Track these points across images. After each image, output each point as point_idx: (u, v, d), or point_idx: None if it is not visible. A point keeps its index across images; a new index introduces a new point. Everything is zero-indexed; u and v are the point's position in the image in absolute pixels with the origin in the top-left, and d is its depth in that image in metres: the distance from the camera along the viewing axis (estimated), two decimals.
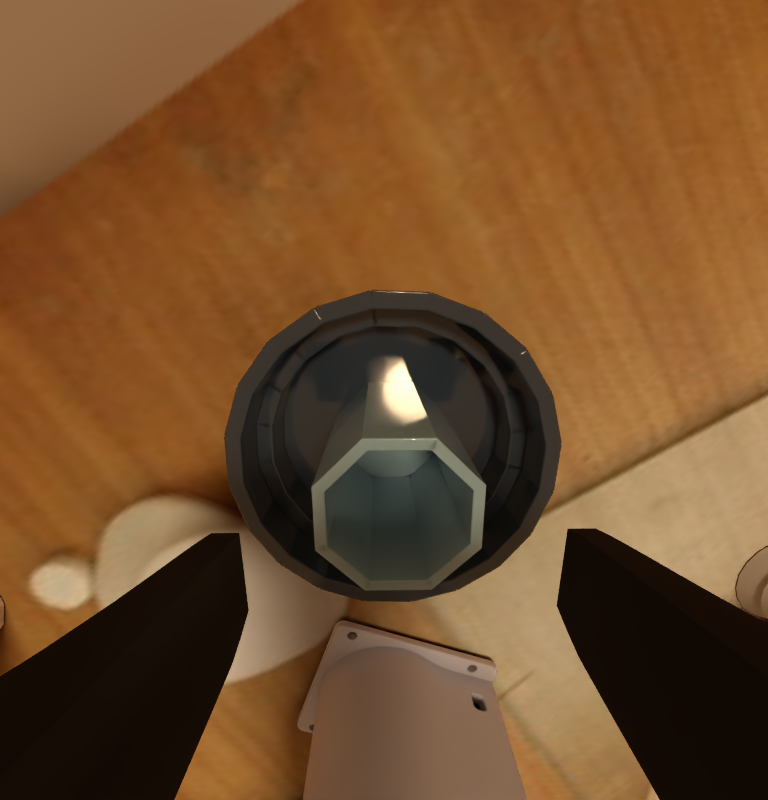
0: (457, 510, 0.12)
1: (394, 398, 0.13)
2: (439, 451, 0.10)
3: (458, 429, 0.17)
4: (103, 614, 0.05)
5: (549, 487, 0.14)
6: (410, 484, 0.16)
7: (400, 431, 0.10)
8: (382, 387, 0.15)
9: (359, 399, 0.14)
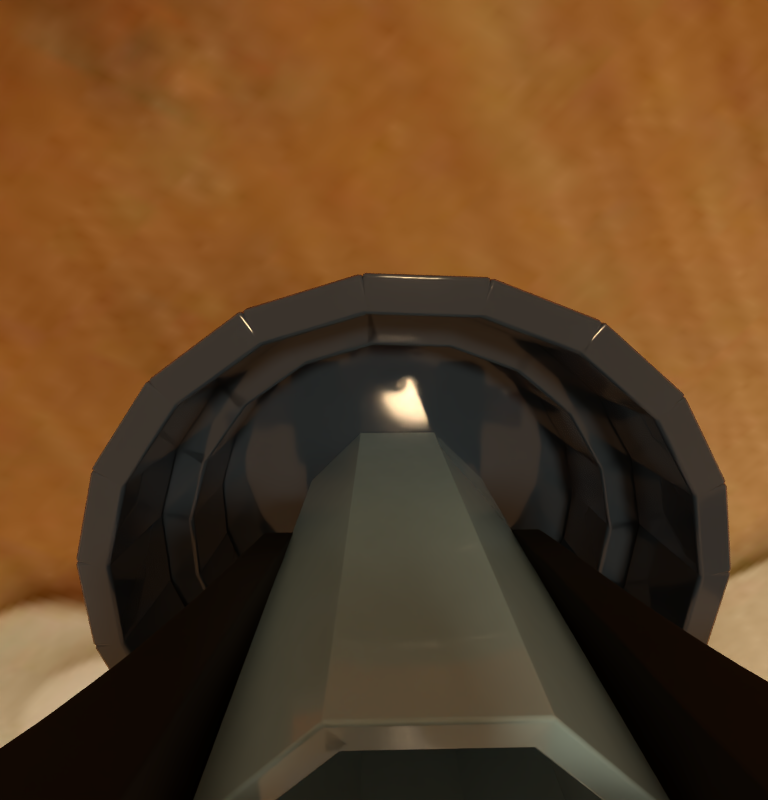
0: None
1: (407, 484, 0.07)
2: (558, 750, 0.03)
3: (506, 504, 0.10)
4: (185, 613, 0.05)
5: None
6: None
7: (436, 661, 0.04)
8: (383, 448, 0.09)
9: (342, 474, 0.08)
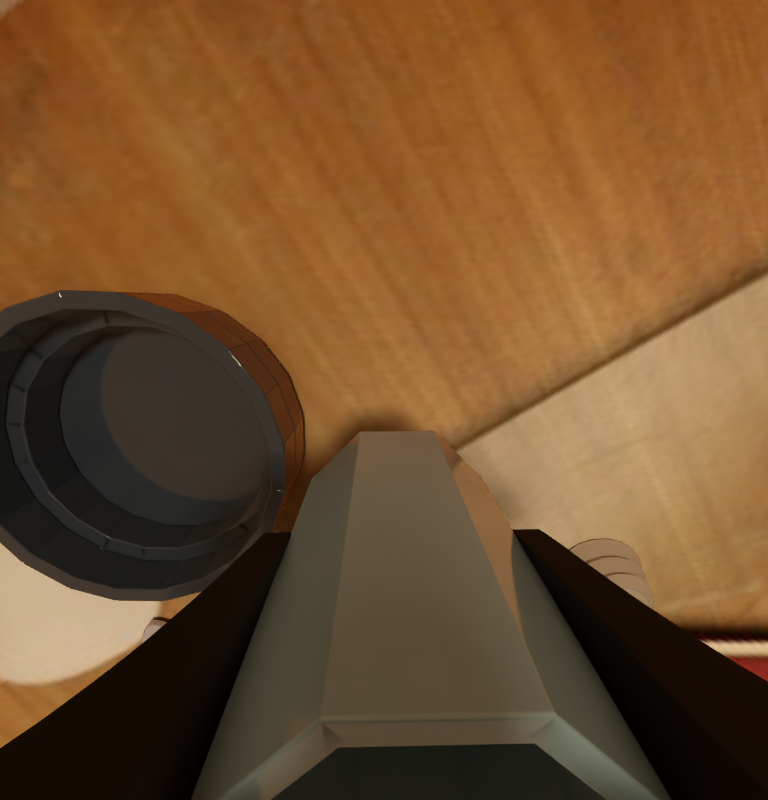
0: None
1: (406, 482, 0.07)
2: (558, 747, 0.03)
3: (237, 428, 0.17)
4: (185, 613, 0.05)
5: (280, 487, 0.14)
6: None
7: (435, 658, 0.04)
8: (383, 446, 0.09)
9: (342, 472, 0.08)
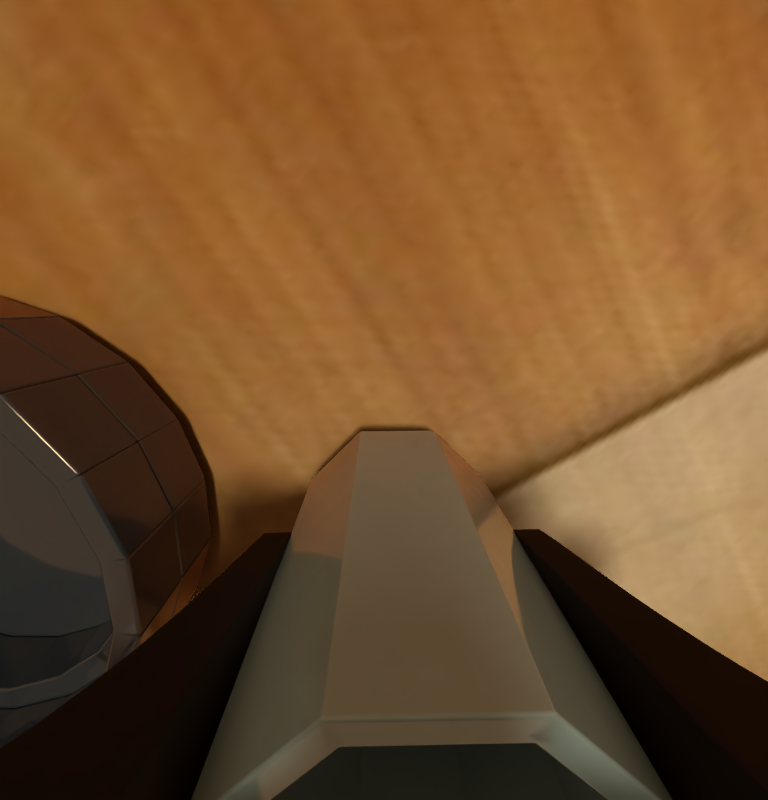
0: None
1: (407, 482, 0.07)
2: (558, 747, 0.03)
3: None
4: (186, 613, 0.05)
5: (131, 629, 0.08)
6: None
7: (436, 657, 0.04)
8: (383, 446, 0.09)
9: (342, 472, 0.08)
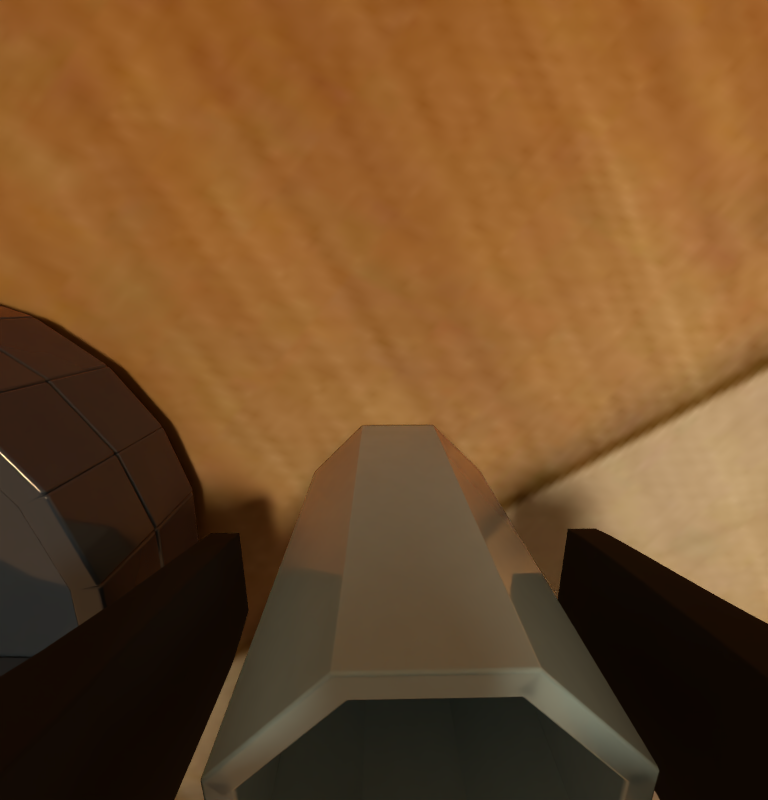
0: (539, 720, 0.06)
1: (407, 472, 0.07)
2: (545, 701, 0.03)
3: None
4: (102, 615, 0.05)
5: None
6: None
7: (434, 623, 0.04)
8: (385, 439, 0.09)
9: (345, 464, 0.08)
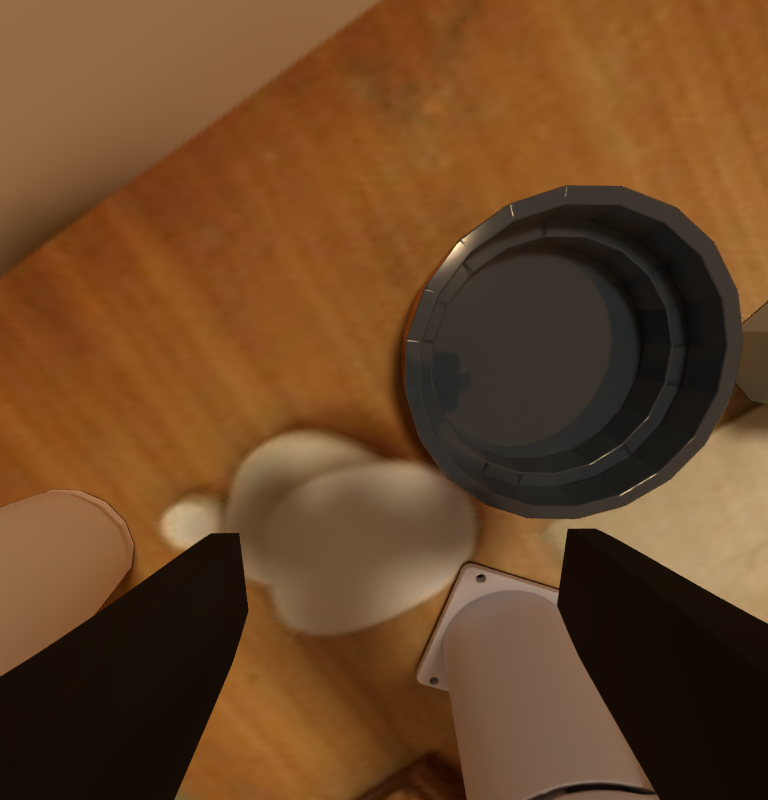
0: None
1: None
2: None
3: (602, 354, 0.17)
4: (103, 614, 0.05)
5: (727, 392, 0.14)
6: None
7: None
8: None
9: None
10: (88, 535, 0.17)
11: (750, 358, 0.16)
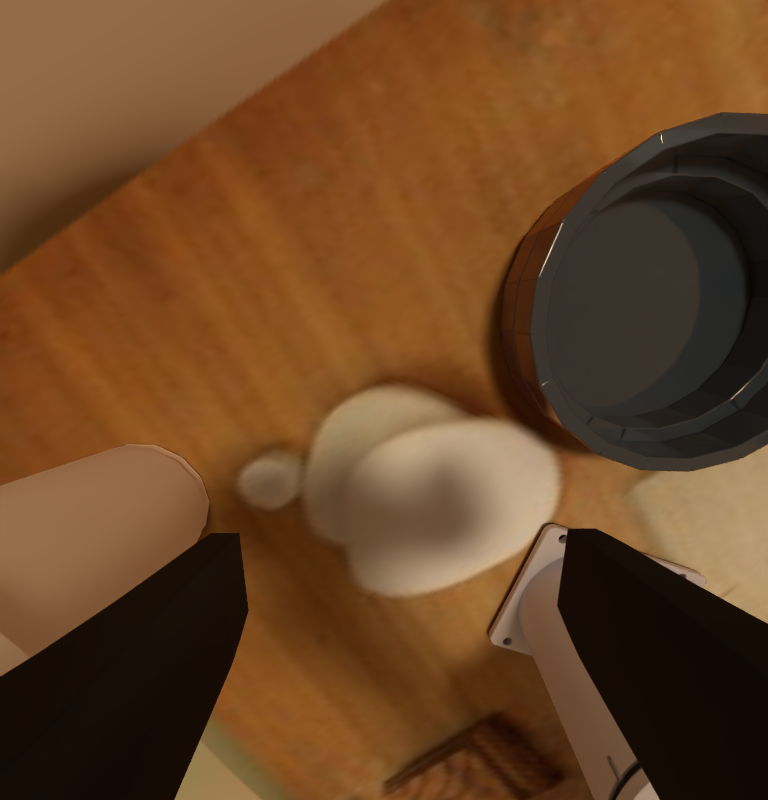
0: None
1: None
2: None
3: (708, 308, 0.16)
4: (103, 614, 0.05)
5: None
6: None
7: None
8: None
9: None
10: (175, 487, 0.17)
11: None
